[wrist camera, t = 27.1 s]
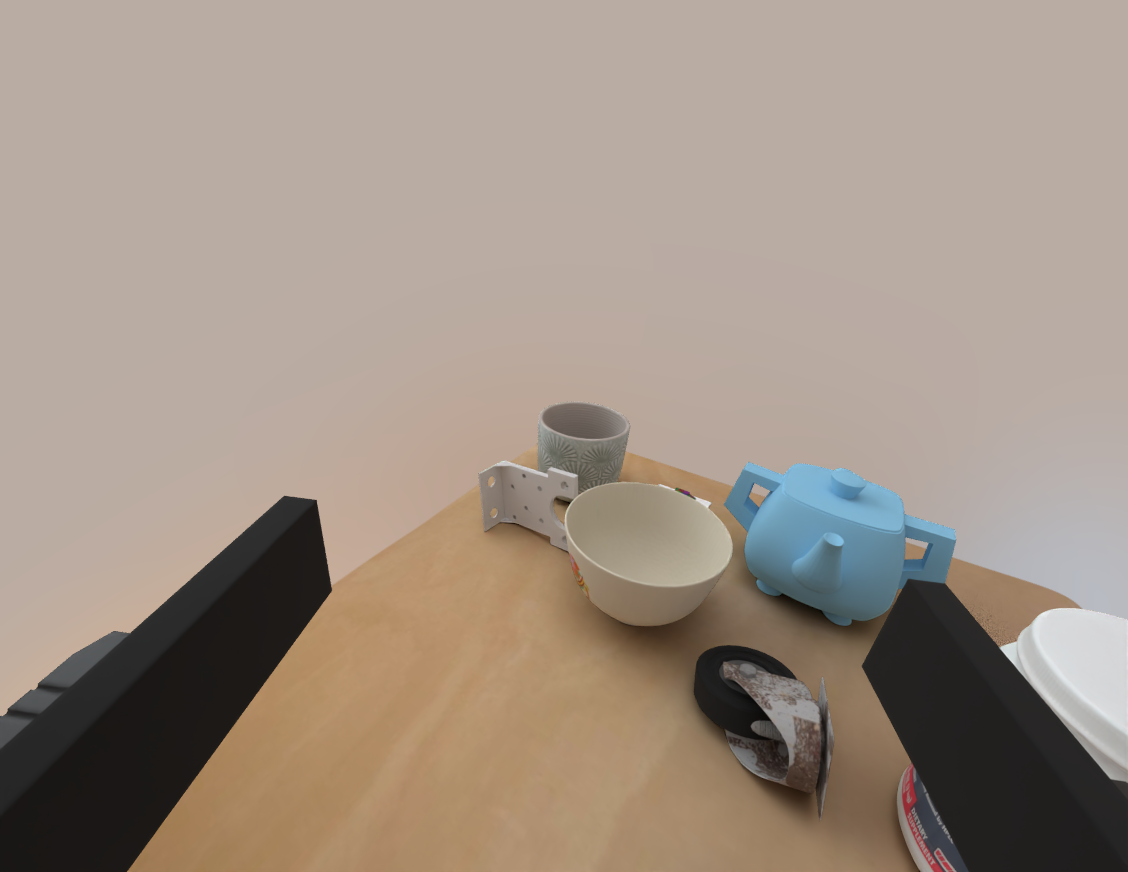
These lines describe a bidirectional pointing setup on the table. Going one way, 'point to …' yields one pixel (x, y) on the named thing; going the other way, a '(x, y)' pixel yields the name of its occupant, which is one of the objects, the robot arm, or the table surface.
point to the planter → (582, 442)
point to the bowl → (645, 551)
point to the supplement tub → (1069, 687)
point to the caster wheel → (767, 717)
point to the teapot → (834, 540)
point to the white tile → (689, 496)
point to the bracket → (526, 498)
